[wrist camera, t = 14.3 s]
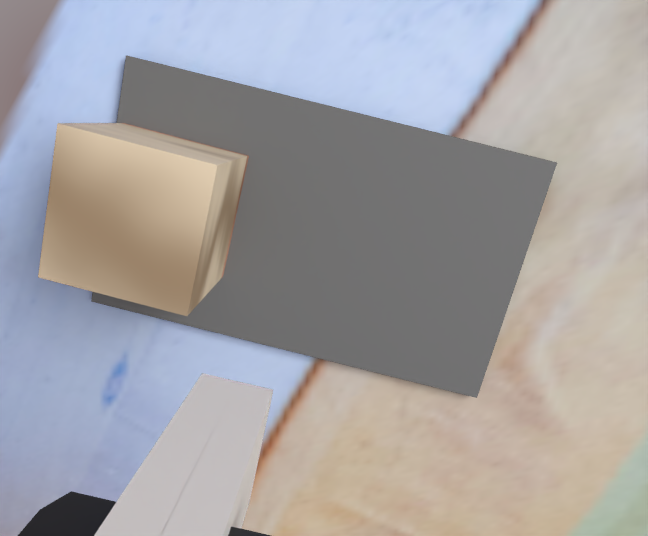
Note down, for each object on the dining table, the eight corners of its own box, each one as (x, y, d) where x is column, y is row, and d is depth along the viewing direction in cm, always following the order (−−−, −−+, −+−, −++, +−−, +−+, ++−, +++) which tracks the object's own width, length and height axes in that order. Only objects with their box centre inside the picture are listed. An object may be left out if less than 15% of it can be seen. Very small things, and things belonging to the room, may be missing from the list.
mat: (474, 392, 30) (476, 397, 29) (96, 297, 30) (91, 301, 29) (553, 161, 26) (557, 162, 26) (131, 56, 27) (126, 55, 26)
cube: (38, 277, 22) (104, 245, 28) (186, 316, 22) (223, 276, 28) (57, 123, 21) (123, 123, 27) (217, 165, 21) (248, 155, 27)
